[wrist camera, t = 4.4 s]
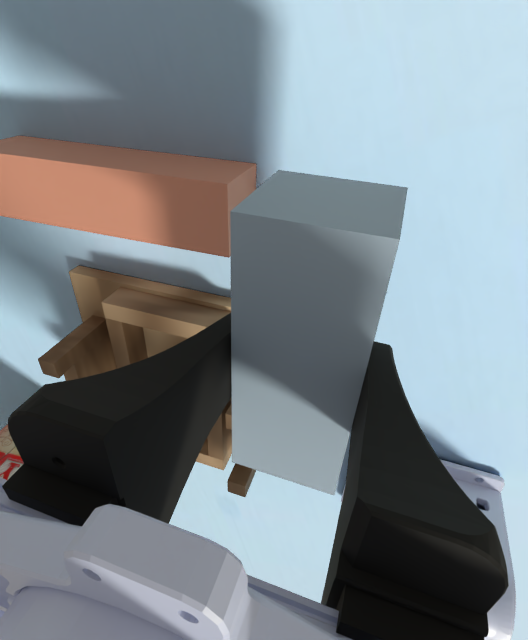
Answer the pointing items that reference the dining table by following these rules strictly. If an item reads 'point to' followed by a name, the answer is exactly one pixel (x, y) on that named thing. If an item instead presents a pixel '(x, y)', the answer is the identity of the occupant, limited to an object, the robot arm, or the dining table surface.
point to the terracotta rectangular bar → (124, 192)
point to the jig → (141, 341)
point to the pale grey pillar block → (306, 317)
